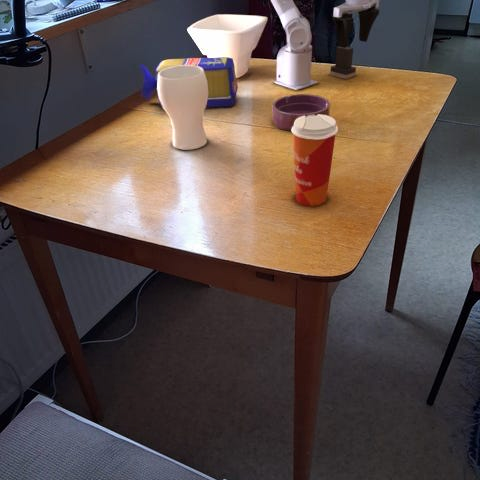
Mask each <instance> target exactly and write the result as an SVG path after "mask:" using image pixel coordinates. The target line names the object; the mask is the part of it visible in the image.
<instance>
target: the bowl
mask: <svg viewBox="0 0 480 480" xmlns="http://www.w3.org/2000/svg"><path fill="white" fill-rule="evenodd" d="M268 19H269V18H268V17H267V16H262V15H252V14H251V15H248V14H227V13H226V14H225V13H224V14H214V15H210V16H207V17H205V18H202V19H200V20H198V21H196V22H194V23H192V24H191V25H190V26H189V27H187V32H188V35H190V37H191V38H192V40H193V41H194V43H195V44H196V46H197V48H198V49H199V50H200V52H201V53H202V55H204V56H207V57H206V58H213V57H228V58H232V59H233V62H234V67H235V75H236V79H239V78H240V77H242V76H244V75H245V74H247V73H248V71H249V69H250V68H249V67H250V63H251V59H252V53H253V51H254V50H255V49H256V47H257V46H258V44H259V41H260V39H261V37H262V33H263V32H264V29H265V27H266V25H267V22H268Z"/></svg>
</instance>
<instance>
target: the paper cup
mask: <svg viewBox="0 0 480 480" xmlns="http://www.w3.org/2000/svg"><path fill="white" fill-rule="evenodd" d="M290 132H291V133H292V137H293V138H292V139H293V161H294V163H293V164H294V166H293V167H294V189H295V200H296V202H298V204H300V205H303V206H308V207H315V206H320V205H322V204H324V203H325V202H326V200H327V197H328V196H327V195H328V191H329V184H330V178H331V171H332V164H333V155H334V149H335V141H336V134H337V133H338V132H339V127H338V126H337V122H336V119H335V118H334V117H332V116H330V115H329V116H327V115H321V114H318V115H317V116H315V115H308V116H306V118H305V115H304V116H301V117H299V118H297V119H296V120H295V122H294V126H293V127H292V129H291V131H290Z"/></svg>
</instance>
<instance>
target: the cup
mask: <svg viewBox="0 0 480 480" xmlns="http://www.w3.org/2000/svg"><path fill="white" fill-rule="evenodd" d="M157 89H158V95H159V99H160V101H161V104H162V106H163V108H164V109H163V108H162V109H163V110H164V111H165V113H166V114H167V115H168V118H169V120H170V123H171V127H172V146H173V147H174V148H175V149H178V150H184V151H186V150H189V151H190V150H195V149H199V148H202V147H203V146H205V145H206V144H207V142H208V139H207V135H206V131H205V128H204V113H205V110H206V108H205V107H206V105H207V99H208V84H207V79H206V76H205V73H204V70H203V69H202V68H201V67H199V66H195V65H178V66H172V67H168V68H165V69H163V70H161V71H160V72H159V73H158V83H157V88H156V90H157ZM161 104H160V105H161ZM162 106H161V107H162Z"/></svg>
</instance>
